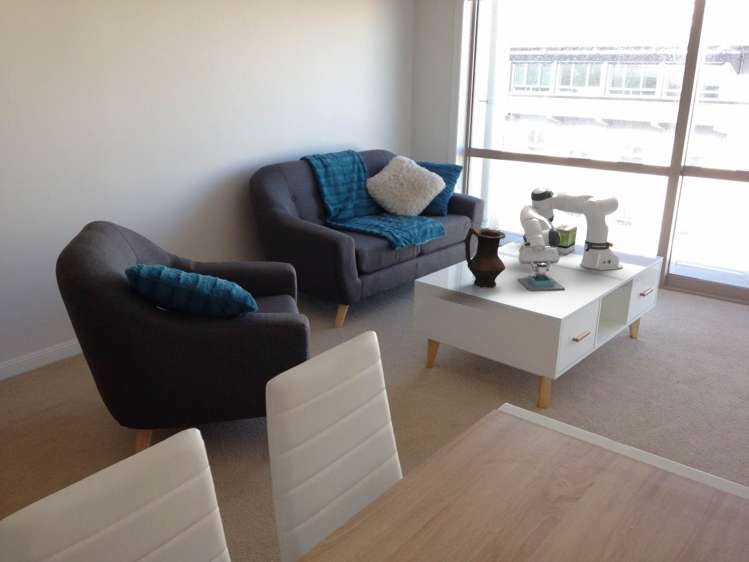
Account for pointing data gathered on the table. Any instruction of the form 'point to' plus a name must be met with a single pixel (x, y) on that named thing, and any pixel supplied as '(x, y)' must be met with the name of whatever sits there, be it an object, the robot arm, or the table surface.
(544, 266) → the glass jar
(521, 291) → the table surface
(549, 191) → the robot arm
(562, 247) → the tea box
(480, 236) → the jug
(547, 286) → the stand
